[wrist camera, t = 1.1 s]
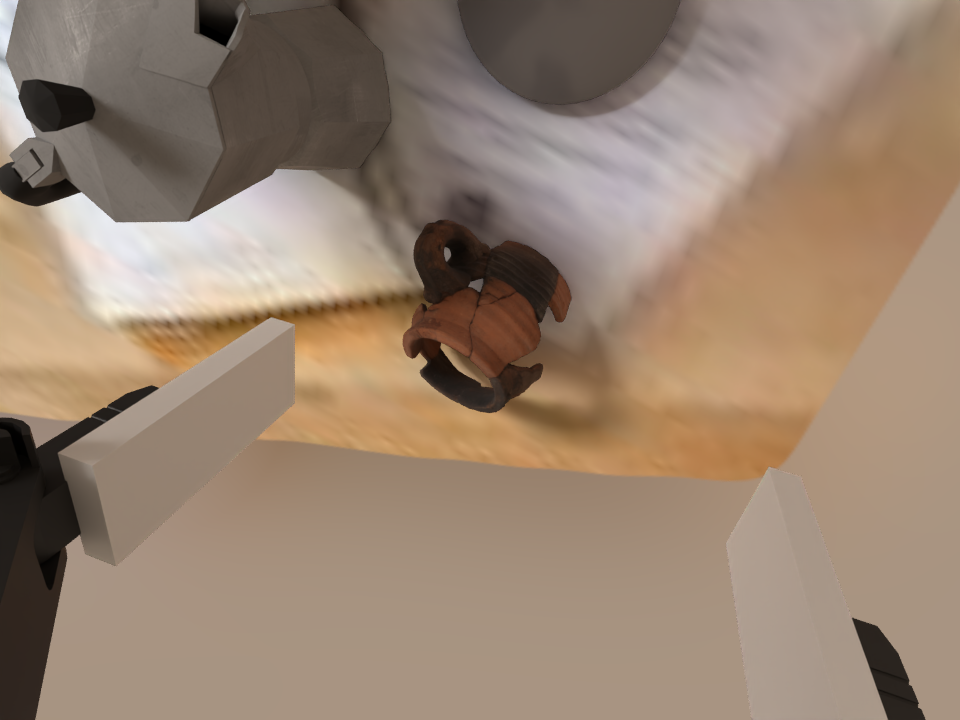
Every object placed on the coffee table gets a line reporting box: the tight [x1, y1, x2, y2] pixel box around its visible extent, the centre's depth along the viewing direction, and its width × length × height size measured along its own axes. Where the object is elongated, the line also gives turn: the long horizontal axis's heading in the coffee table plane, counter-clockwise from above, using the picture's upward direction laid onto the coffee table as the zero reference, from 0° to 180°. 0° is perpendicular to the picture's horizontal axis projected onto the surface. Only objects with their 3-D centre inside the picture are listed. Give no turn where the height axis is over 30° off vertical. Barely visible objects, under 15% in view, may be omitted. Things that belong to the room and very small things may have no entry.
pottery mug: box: [403, 220, 571, 413], centre depth 34 cm, size 12×10×8 cm
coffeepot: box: [0, 0, 391, 222], centre depth 26 cm, size 15×9×18 cm, turn 116°
